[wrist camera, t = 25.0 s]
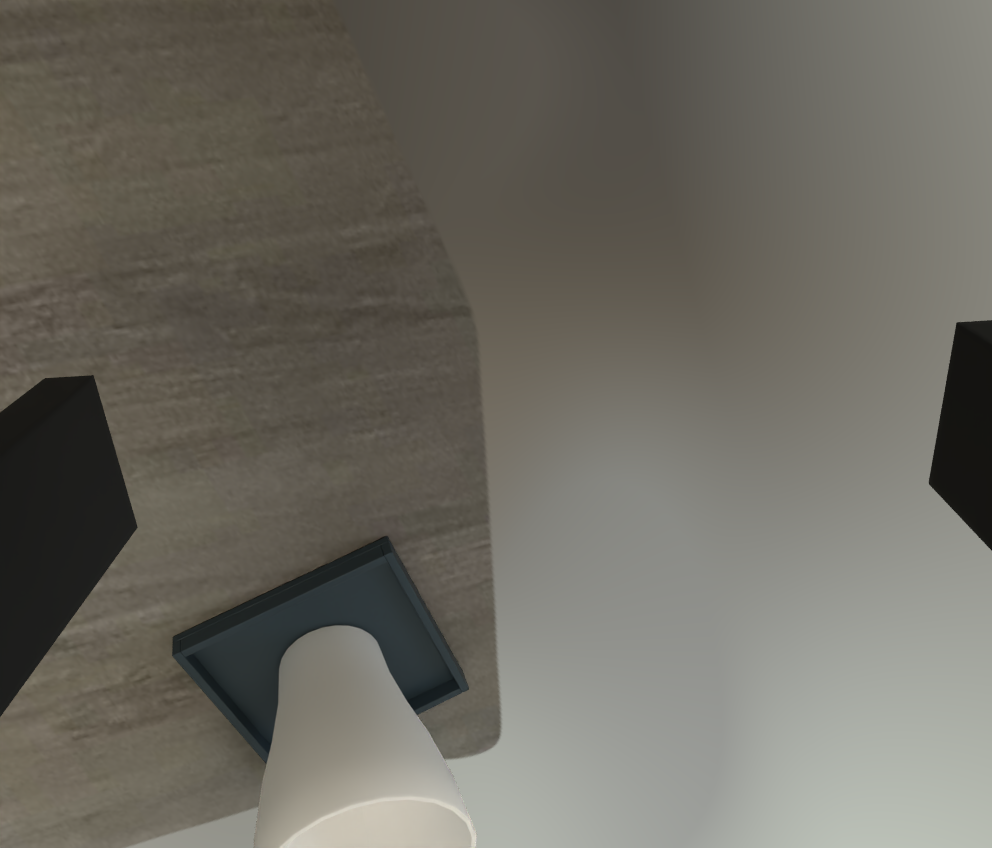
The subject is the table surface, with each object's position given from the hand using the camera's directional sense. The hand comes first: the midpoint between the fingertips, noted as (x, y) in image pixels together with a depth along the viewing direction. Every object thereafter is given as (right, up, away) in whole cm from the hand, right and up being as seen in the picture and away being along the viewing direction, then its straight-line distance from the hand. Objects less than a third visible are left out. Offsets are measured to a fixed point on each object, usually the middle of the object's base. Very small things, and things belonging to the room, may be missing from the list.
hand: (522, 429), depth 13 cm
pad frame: (-10, -14, +38) cm, 41 cm away
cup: (-10, -14, +37) cm, 41 cm away
